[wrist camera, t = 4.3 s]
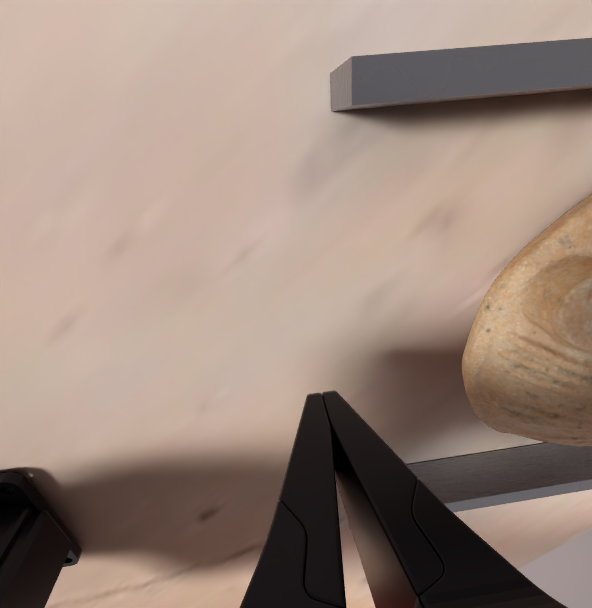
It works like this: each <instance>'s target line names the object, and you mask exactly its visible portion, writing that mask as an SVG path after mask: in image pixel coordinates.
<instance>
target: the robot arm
mask: <svg viewBox="0 0 592 608" xmlns="http://www.w3.org/2000/svg"><path fill="white" fill-rule="evenodd" d="M335 478H336V480H335ZM336 481H337V485H338V488H339V491H340V494H341V497H342V501H343V504H344V507H345V510H346V514H347V517H348V520H349V523H350V526H351V530H352V533H353V536H354V539H355V543H356V546H357V549H358V552H359V555H360V559H361V562H362V565H363V568H364V572H365V575H366V578H367V581H368V584H369V588H370V591H371V594H372V597H373V601H374V604H375V607H376V608H568V607H566V606H564V605H563V604H561V603H559V602H558V601H556V600H555V599H553V598H552V597H550V596H549V595H547V594H546V593H545V592H544V591H542V590H541V589H540V588H538V587H537V586H536V585H535V584H533V583H532V582H531V581H530V580H528V579H527V578H526V577H525V576H524V575H523V574H522V573H521V572H519V571H518V570H517V569H516V568H515V567H514V566H513V565H511V564H510V563H509V562H508V561H507V560H506V559H505V558H503V557H502V556H501V555H500V554H499V553H498V552H497V551H495V550H494V549H493V548H492V547H491V546H490V545H489V544H487V543H486V542H485V541H484V540H483V539H482V538H481V537H479V536H478V535H477V534H476V533H475V532H474V531H473V530H471V529H470V528H469V527H468V526H467V525H466V524H465V523H464V522H463V521H461V520H460V519H459V518H458V517H457V516H456V515H455V514H454V513H453V512H452V511H450V510H449V509H448V508H447V507H446V506H445V505H444V504H443V503H442V502H441V501H440V500H439V499H438V498H437V497H436V496H435V495H434V494H433V493H432V492H431V491H430V489H429V488H428V487H427V486H426V485H425V484H424V483H423V482H422V481H421V480H420V479H418V480H417V476H416V475H415V474H414V473H413V472H412V471H411V470H410V468H409V467H408V466H407V465H406V464H405V463H404V462H403V461H402V460H401V459H400V458H399V457H398V456H397V455H396V454H395V453H394V452H393V451H392V449H391V448H390V447H389V446H388V445H387V444H386V443H385V442H384V441H383V440H382V439H381V438H380V437H379V436H378V435H377V434H376V433H375V432H374V430H373V429H372V428H371V427H370V426H369V425H368V424H367V423H366V422H365V421H364V420H363V419H362V418H361V417H360V416H359V415H358V414H357V413H356V412H355V410H354V409H353V408H352V407H351V406H350V405H349V404H348V403H347V402H346V401H345V400H344V399H343V398H342V397H341V396H340V395H339V394H338V393H337V392H336V391H328V392H323V393H322V394H321V393H313V394H308V395H307V398H306V401H305V405H304V409H303V412H302V416H301V420H300V423H299V427H298V430H297V434H296V438H295V441H294V445H293V449H292V452H291V456H290V460H289V463H288V467H287V471H286V474H285V478H284V482H283V485H282V489H281V493H280V496H279V501H278V503H277V506H276V510H275V514H274V517H273V520H272V524H271V527H270V530H269V533H268V537H267V540H266V542H265V545H264V548H263V551H262V553H261V556H260V559H259V561H258V564H257V567H256V569H255V571H254V574H253V576H252V579H251V581H250V584H249V586H248V589H247V591H246V594H245V596H244V599H243V601H242V604H241V606H240V608H346V598H345V586H344V574H343V563H342V551H341V539H340V527H339V515H338V503H337V491H336ZM81 553H82V549H81V548H80V546H79V545H78V544H77V542H76V541H75V540H74V539H73V537H72V536H71V535H70V533H69V532H68V531H67V530H66V528H65V527H64V526H63V524H62V523H61V522H60V520H59V519H58V518H57V517H56V515H55V514H54V513H53V511H52V510H51V509H50V507H49V506H48V505H47V504H46V502H45V501H44V500H43V498H42V497H41V496H40V495H39V493H38V492H37V491H36V489H35V488H34V487H33V485H32V484H31V483H30V482H29V480H28V479H27V478H26V477H25V476H23V475H21V474H18V473H3V474H0V608H44V607H45V605H46V603H47V601H48V598H49V596H50V594H51V592H52V589H53V587H54V585H55V583H56V580H57V578H58V576H59V574H60V571H61V569H62V567H66V566H72V565H75V564H77V563H78V561H79V558H80V556H81Z"/></svg>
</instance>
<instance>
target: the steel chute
mask: <svg viewBox="0 0 592 608" xmlns="http://www.w3.org/2000/svg"><path fill="white" fill-rule="evenodd" d="M330 84H331V111H341V110H352V109H364V108H375V107H387V106H398V105H409V104H421V103H432V102H443V101H455V100H466V99H478V98H489V97H500V96H512V95H523V94H534V93H546V92H557V91H569V90H580V89H591V88H592V38H584V39H571V40H559V41H546V42H533V43H520V44H507V45H494V46H481V47H469V48H456V49H443V50H430V51H417V52H404V53H391V54H379V55H366V56H353V57H351V58H349V59H348V60H347V61H345V62H344V63H343V64H342V65H340V66H339V67H338V68H337V69H335V70H334V71H333V72H331V73H330ZM407 466H408V467H409V468H410V470H411V471H412V472H413V473H414V474H415V475H416V476H417V480H418V479H420V480H421V481H422V482H423V483H424V484H425V485H426V486H427V487H428V488H429V489H430V491H431V492H432V493H433V494H434V495H435V496H436V497H437V498H438V499H439V500H440V501H441V502H442V503H443V504H444V505H445V506H446V507H447V508H448V509H449V510H450V511H452V512H458V511H464V510H470V509H476V508H482V507H488V506H494V505H500V504H506V503H512V502H518V501H524V500H530V499H536V498H542V497H548V496H554V495H560V494H566V493H572V492H578V491H584V490H589V489H592V446H582V447H578V446H570V445H563V444H556V443H542V444H536V445H529V446H523V447H517V448H510V449H504V450H498V451H491V452H485V453H479V454H472V455H466V456H459V457H453V458H447V459H440V460H434V461H428V462H421V463H415V464H409V465H407ZM348 521H349V520H348ZM349 525H350V523H349ZM350 529H351V526H350Z"/></svg>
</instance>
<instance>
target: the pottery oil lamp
mask: <svg viewBox="0 0 592 608" xmlns="http://www.w3.org/2000/svg"><path fill="white" fill-rule="evenodd" d="M462 375H463V381H464V387H465V391H466V394H467V396H468V399H469V402H470V405H471V407H472V409H473V410H474V412H475V414H476V416H477V417H478V418H479V419H480V420H482V421H483V422H484V423H486V424H487V425H488V426H489V427H491V428H493V429H495V430H496V431H499V432H503V433H512V434H517V435H521V436H524V437H527V438H531V439H535V440H539V441H543V442H549V443H556V444H563V445H570V446H578V447H582V446H592V194H591V195H590V196H589V197H587V198H585V199H584V200H582V201H581V202H580V203H578V204H577V205H576V206H574V207H573V208H571V209H570V210H569V211H567V212H566V213H565V214H564V215H563V216H562V217H560V218H559V219H558V220H557V221H555V222H554V223H553V224H551V225H550V226H549V227H548V228H547V229H546V230H545V231H543V232H542V233H541V234H540V235H539V236H538V237H536V238H535V239H533V240H532V241H531V242H530V243H529V244H528V245H527V246H526V247H524V248H523V249H522V250H521V251H520V253H519V254H518V255H517V256H516V257H515V258H514V259H513V260H512V261H511V262H510V263H509V264H508V266H507V267H506V268H505V269H504V270H503V271H502V272H501V274H500V275H499V276H498V277H497V279H496V280H495V282H494V283H493V284H492V286H491V288H490V289H489V291H488V292H487V294H486V296H485V297H484V299H483V301H482V304H481V306H480V308H479V310H478V313H477V316H476V318H475V320H474V323H473V326H472V328H471V331H470V333H469V336H468V340H467V343H466V347H465V350H464V353H463V358H462Z"/></svg>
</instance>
